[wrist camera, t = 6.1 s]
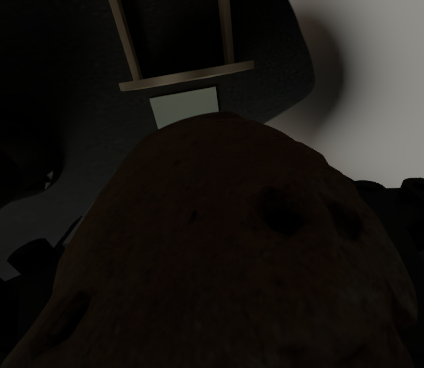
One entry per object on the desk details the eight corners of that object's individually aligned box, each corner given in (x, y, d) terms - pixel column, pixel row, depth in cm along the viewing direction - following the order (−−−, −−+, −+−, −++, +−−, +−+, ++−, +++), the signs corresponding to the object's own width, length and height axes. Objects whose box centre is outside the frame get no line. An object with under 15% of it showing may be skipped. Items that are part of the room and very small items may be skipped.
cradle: (140, 89, 33) (121, 91, 22) (101, -39, 25) (44, -128, 15) (231, 73, 34) (253, 68, 23) (219, -55, 26) (245, -149, 16)
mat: (166, 155, 39) (166, 156, 38) (150, 98, 34) (149, 98, 33) (222, 144, 40) (223, 145, 39) (215, 86, 34) (215, 86, 34)
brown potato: (166, 192, 23) (122, 539, 5) (131, 136, 19) (-343, 641, 2) (248, 158, 22) (491, 418, 5) (228, 93, 19) (900, 214, 1)
